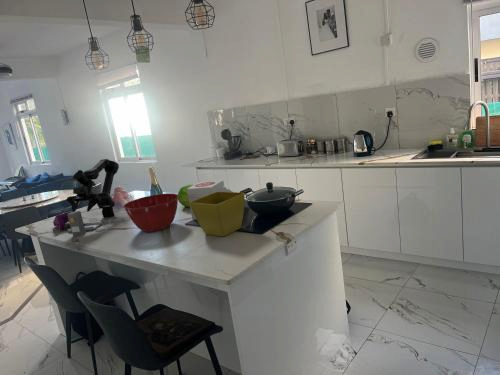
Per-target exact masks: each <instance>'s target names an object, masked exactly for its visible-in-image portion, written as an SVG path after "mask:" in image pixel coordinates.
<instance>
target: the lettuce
mask: <svg viewBox="0 0 500 375" xmlns="http://www.w3.org/2000/svg"><path fill="white" fill-rule="evenodd" d="M193 185H194V184H187V185H185V186H182V187H180V189H179V191H178V193H177V195H178V203H179V204H181V206H183V207H186V208H190V203H189V198H188V193H187V189H188V188H189V187H191V186H193Z"/></svg>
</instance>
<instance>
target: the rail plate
mask: <svg viewBox="0 0 500 375" xmlns="http://www.w3.org/2000/svg"><path fill="white" fill-rule="evenodd" d="M83 223H84V227H85V231H86V232H90V231H91V232H92V231H94V230H96V229H98V228H99V227H101V226H103V222H102V221H101V220H100V221H90V222H83ZM69 227H70V226H69ZM67 233H69V234H72V230H71V227H70V228H67Z"/></svg>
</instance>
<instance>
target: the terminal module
mask: <svg viewBox="0 0 500 375" xmlns="http://www.w3.org/2000/svg"><path fill="white" fill-rule="evenodd" d="M67 216H68V219H69V222H68V223H69V227H71V230H72V233H71V235H72V237H81V236H84V235H85V234H87V231H85V227H84V223H85V222H84V221H83V216H82V211H81V210H76V211H75V212H71V213H69V214H67Z"/></svg>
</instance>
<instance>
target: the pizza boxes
mask: <svg viewBox="0 0 500 375" xmlns="http://www.w3.org/2000/svg"><path fill="white" fill-rule="evenodd" d="M192 185H193V186H191V187H189V188H188V189H187V193H188V198H189V203H190V202H191V201H194V200H197V199H199V198H202V197H204V196H207V195H210V194H212V193H215V192H233V191H232V190H231V189H229V188H227V187H225V182H224V180H211V181H200V182H197V183H195V184H192ZM189 208H190V214H191V219H192V220H195V221H197V219H196V217H195V215H194V213H193V210H192V208H191V205H190V207H189Z"/></svg>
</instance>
